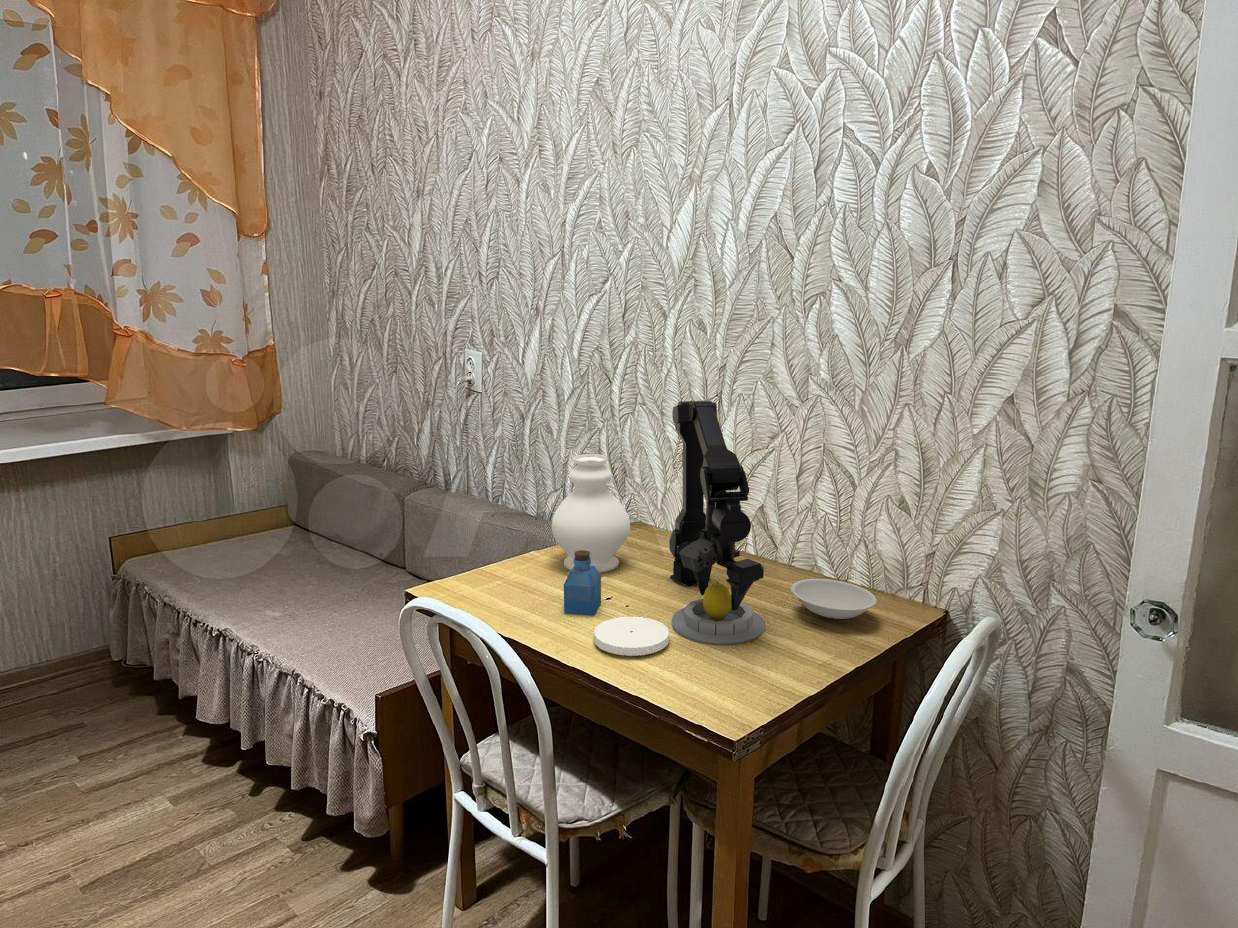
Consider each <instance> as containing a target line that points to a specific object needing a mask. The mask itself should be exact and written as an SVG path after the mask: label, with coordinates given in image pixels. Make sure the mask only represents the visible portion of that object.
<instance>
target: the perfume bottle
mask: <svg viewBox="0 0 1238 928" xmlns="http://www.w3.org/2000/svg"><path fill="white" fill-rule="evenodd" d="M574 554H575V558H574V564H575V565H574V567H573V568H572V570H570V571H569V573H568V575H567V578H566V579H565V581H564V583H563V614H565V615H577V616H587V617H588V616H589V617H595V616H596V614H597V613H598V610H599V609H600V607H601V606H602V574H601V573H599V572H598V571H597V569H596V568H595V566H590V564H591V558H590V557H589V556H590V552H589V551H586V550H579V551H576V552H575V553H574Z"/></svg>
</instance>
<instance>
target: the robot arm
mask: <svg viewBox="0 0 1238 928" xmlns="http://www.w3.org/2000/svg"><path fill="white" fill-rule="evenodd" d="M717 406H718V405H717V403H716V402H713V401H711V400H689V401H688V400H687V401H678V402H677V405H675V406H673V407H672V412H671V413H672V422H673V424H674V427H675V431H676V433H677V434H678V437H679V438H680V439H681V441H682V509H681V510H680V512H679V513H678V515H677V516H676V518H675V521H674V529H673V530H672V531H671V532H672V533H671V534H670V538H669V541H668V543H669V551H670V553H671V555H672V556H673V557H674V560H673V563H672V564H673V568H672V570H673V572H672V573H673V574H671V575H669V578H670V579H671V580H674V581H676V582H677V583H680V584H682V585H684V586H686V587H691V586H694V585H697V587H698V590H699V594H700V595H701V596H704V593H705V590H706V589H707V587H708V586H710V581H711V574H712V569H713V566H714V565H715V564H716V565H718V566H720V567H722V568H725V569H726V576H727V577H728V578H726V579H725V581H726V583H728V585H730V594H731V605H732V610H737V609H738V607H739V606H740V604H741V602H742V603H743V600H744V598H745V596H746V595H747V592H748V591H749V589H750V588H751V586H752V585H753V583H754V582H756V581H759V580H761V579H763V578H764V571H765V567H764V565H762V563H760V562H757V561H755V560H754V559H753V560H752V559H751V558H745V559H741V560H738V561H737V560H735V558H738V557H739V558H740V554H741V551H740V550H738V549H736V543H738V542H741V541H743V540H744V539H746V538H747V537H748V535H749V534H750V532H751V530H752V522H751V520H750V518H749V516H748V515H747V514H746V513H745V511H743V510H742V505H741V502H744V501H746V502H749V493H750V487H749V483H748V482H749V481H748V478H747V473H746V471H745V470H744V466H743V465H741V464H740V460H739V459H738V456H737V454H736V453H734V452H732V450H729V448H728V447H727V444H726V441H725V438H724V435H723V431H722V427H721V426H720V425H721V424H720V423H719V422H720V421H719V419H718V408H717ZM738 490H739V491H738ZM704 500H705V501H704ZM704 503H705V504H704ZM704 506H705V508H704ZM704 511H705V512H704Z"/></svg>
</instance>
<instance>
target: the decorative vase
mask: <svg viewBox="0 0 1238 928" xmlns="http://www.w3.org/2000/svg"><path fill="white" fill-rule="evenodd" d="M607 462H608V457H607V456H606V455H603V454H597V453H586V454H578V455H575V456H574V457H573V463H574V464H577V465H575V466H574V467H573V468H572V469H571V470H570V472H569V480H570V481H571V482H572V483H573V484H574V485H575V486H576V487H575V488H574V489H573V490H572V491H571V492H570V493H569V494H568V495H567V496H566V497H565V498H564V499H563V500H562V501H561V503H560V504H559V506H558V507H557V509H556V510H555V513H554V514H553V517H552V520H551V533H552V536H553V538H554V539H555V541H556V542H557V544H558V545H559V546H560V547H561V549H562V550H563V551H564V552H565V553H566V554H567V557H566V558H564V560H563V566H564V567H565V568H566V569H567V570H570V571H571V570H572V568H573V567H574V565H575V564H574V558H575V554H574V553H575V552H576V551H579V550H586V551H589V552H590V556H589V557H590V558H591V564H590V566H595V568H596V569H597V571H598V572H599V574H601V573H605V572H610V571H613V570H615V569H616V568H618V567H619V564H620V561H619V559H618V557H617V556H616V555H615V554H616V553H617V552H618V551H619V549H620V548H621V547H622V546H623V545H624V543H625V541H626V540H627V538H628V537H629V536H630V535H629V534H630V531H631V521H630V517H629V514H628V512H627V509H626V508H625V507H624V506H623V504H622V503H621V502H620V500H619V499H618V498H617V497H616V496H615V494H613V493H612V492H611V491H610V490H609V489H608V488H607V487H606V485H607V484H609V482H610V481H611V480H612V477H613V476H612V472H611V470H610V468H609V467H607V466H606V465H604V464H606V463H607ZM614 555H615V556H614Z"/></svg>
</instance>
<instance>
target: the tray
mask: <svg viewBox="0 0 1238 928" xmlns="http://www.w3.org/2000/svg"><path fill="white" fill-rule="evenodd" d="M671 628H672V629H673V631H674V632H675V633H676V634H678V635H679V636H681V637H682V638H684V639H687V640H689V641H693V642H696V643H700V644H705V645H712V646H713V645H714V646H730V645H732V646H733V645H740V644H744V643H748V642H751V640H752V641H754V640H756V639H759V637H761V636H762V635H763V634H764V632H765V630H766V623H765V619H764V618H763V617H762V616H761V614H759V613H757V612H756V611H754V610H752V608H751V606H749V605H748V604H746V603H744V602H743V601H742V602H741V604H740V606H739V607H738V609H737V610H732V606H731V610H730V612H729V613H728V615H727V616H726V617H724V618H721V619H720V620H719V621H716V620H715V619H714V618H711V617H709V616H708V615H707V614H706V612H705V610H704V607H703V598H700V599H696V600H692V601H690V602H689V603H687V605H686V606H684V607H683V608H681V609H680V610H678V611H676V612H675V613H674V614H673V615H672V618H671ZM762 633H763V634H762Z"/></svg>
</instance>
